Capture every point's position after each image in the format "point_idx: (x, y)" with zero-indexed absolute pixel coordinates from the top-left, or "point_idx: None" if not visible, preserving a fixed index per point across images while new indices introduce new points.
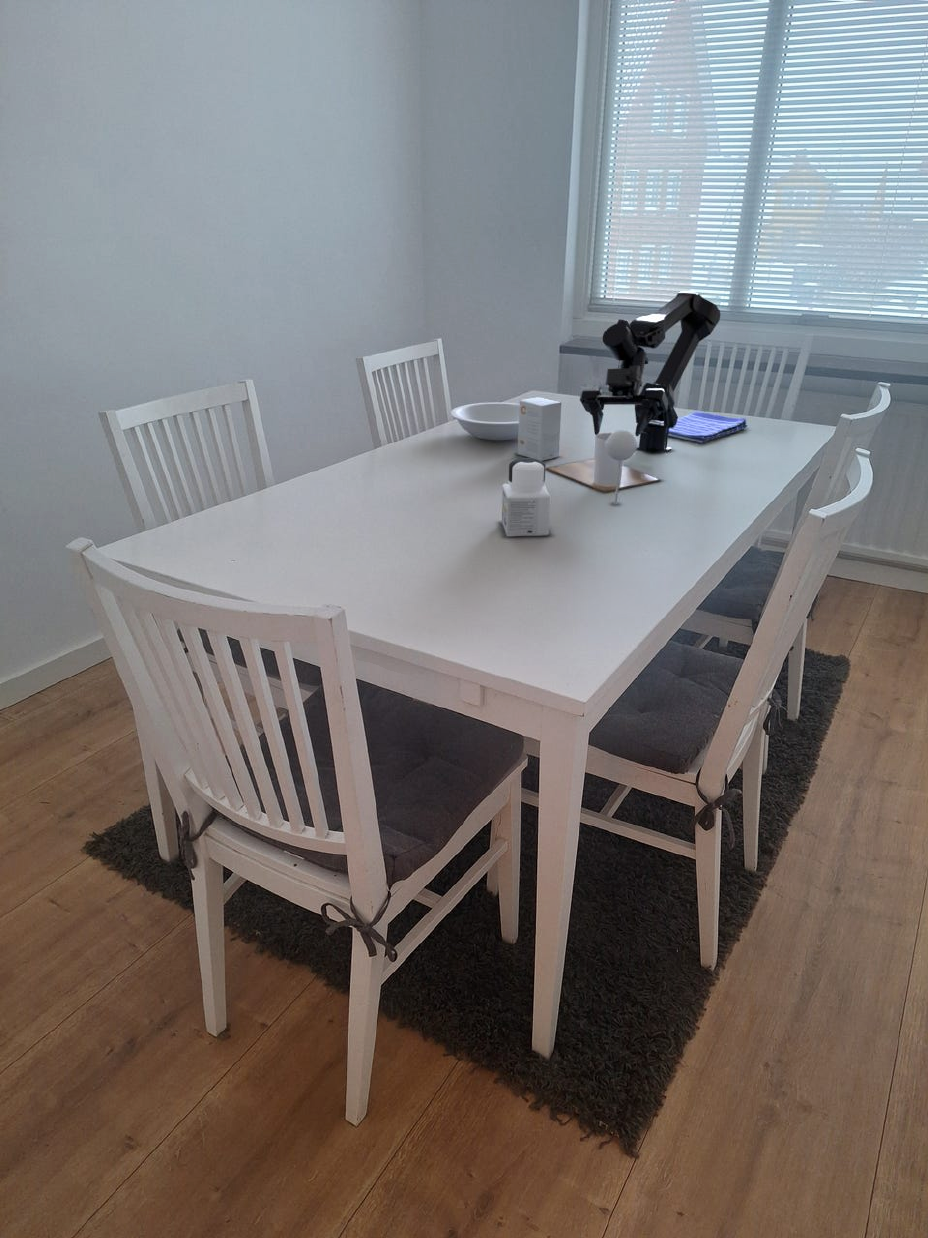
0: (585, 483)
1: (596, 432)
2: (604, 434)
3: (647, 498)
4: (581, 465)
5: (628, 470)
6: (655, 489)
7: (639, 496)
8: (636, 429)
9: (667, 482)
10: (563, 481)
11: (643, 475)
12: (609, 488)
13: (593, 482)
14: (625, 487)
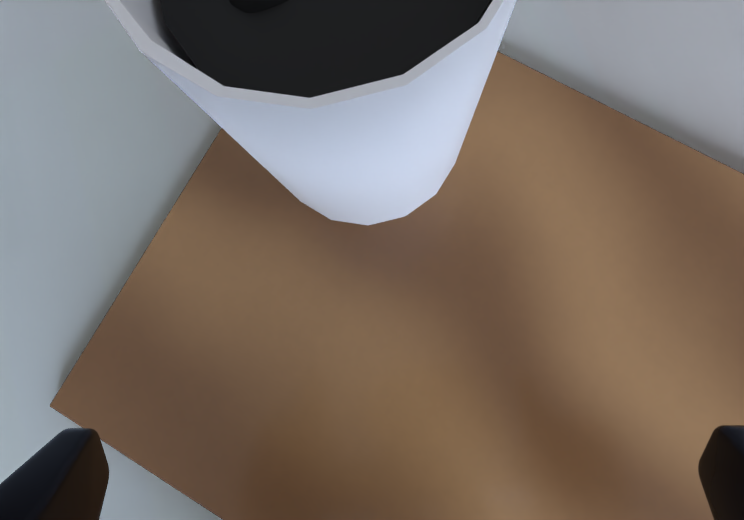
0: None
1: (729, 433)
2: (467, 38)
3: (55, 7)
4: None
5: (320, 516)
6: (47, 201)
7: (108, 17)
8: (52, 479)
9: (4, 397)
10: (661, 56)
11: (180, 439)
12: None
13: None
14: None
